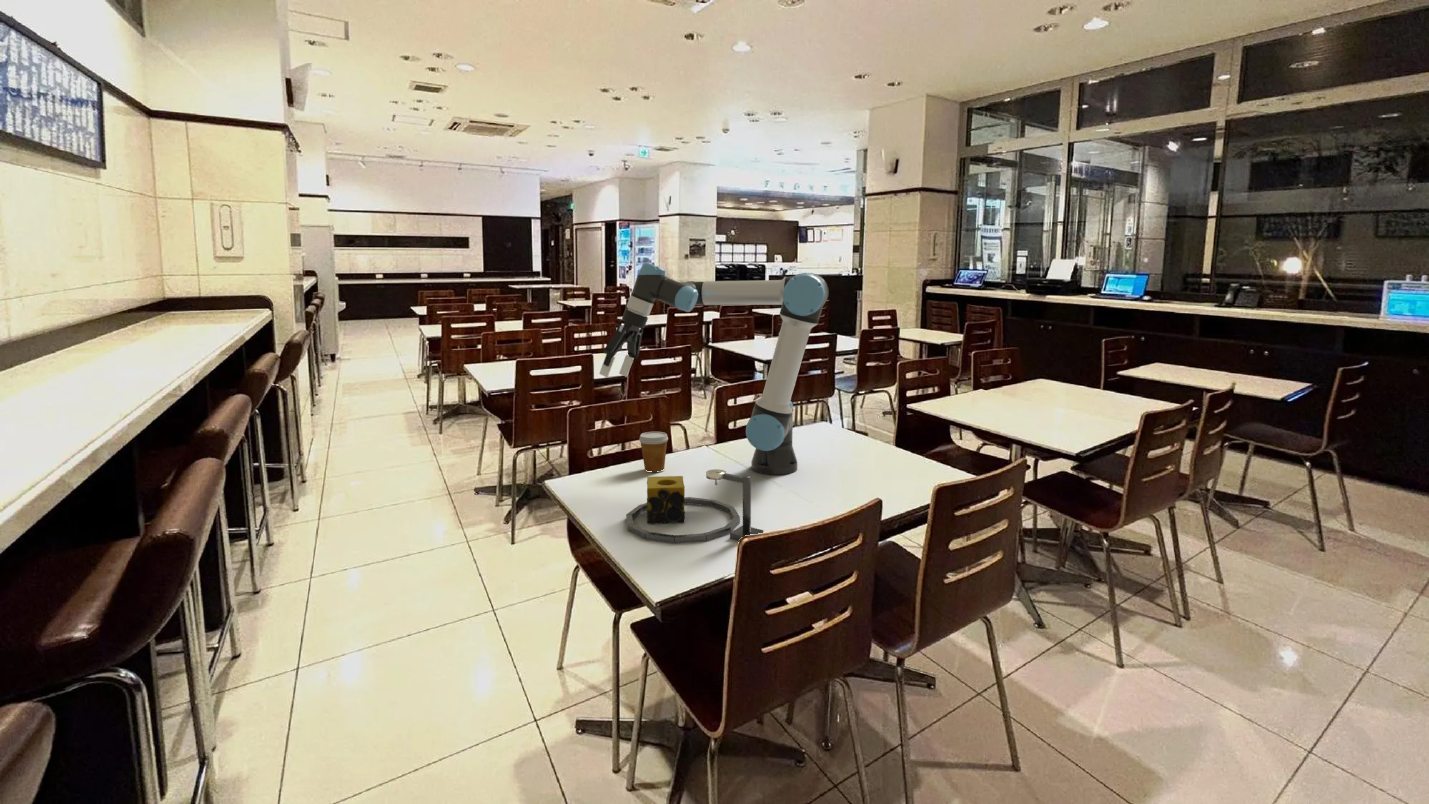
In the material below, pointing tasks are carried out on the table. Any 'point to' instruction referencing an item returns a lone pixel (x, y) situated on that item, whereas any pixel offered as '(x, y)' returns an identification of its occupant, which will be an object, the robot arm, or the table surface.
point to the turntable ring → (687, 537)
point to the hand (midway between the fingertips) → (613, 375)
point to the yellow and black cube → (665, 500)
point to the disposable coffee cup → (654, 450)
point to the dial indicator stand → (746, 481)
